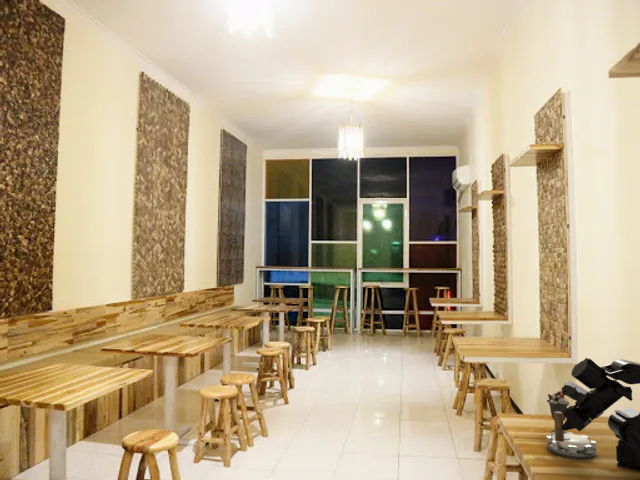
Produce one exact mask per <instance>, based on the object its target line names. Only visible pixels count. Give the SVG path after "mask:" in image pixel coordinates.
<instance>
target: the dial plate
mask: <svg viewBox="0 0 640 480" xmlns="http://www.w3.org/2000/svg"><path fill="white" fill-rule="evenodd" d="M565 432H566V433H567V434H574V432H571V431H565ZM553 435H555V432H552V433H551V432H550V435H546V448H547V450H548V451H549V452H550V451H551V452H550V453H552V454H554V455H556V456H560V457H562V458H566V459H567V458H568V459H571V460H572V459H573V460H590V459H593V458H595V457H597V443H596V440H590V439H591V437H590V436H588V435H585V434H583V435H582V434H581V435H580V436H582V437H585V438H587V439H588V440H589V441H590V445H585V446H584V451H577V448H576V446H573V445H568V450H567V449H563V448H560V443H559V442H557V441H552V436H553Z"/></svg>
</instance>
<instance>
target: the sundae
mask: <svg viewBox="0 0 640 480" xmlns="http://www.w3.org/2000/svg"><path fill="white" fill-rule="evenodd" d="M561 391H562V388H561V389H560V391H557V392H555V393H553V394H550V393H547V397H548V399H547V400H546V402H547V403H548V404H549V410H550V415H551V418H552V419H553V420H554V412H556V411H558V412H563V411H564V410H565V409H566V408H568V407H569V405H570V402H569V401H568V400H567V398H566V397H565V395H563V394H562V393H561ZM566 419H567V418H566V417H565V416H564V415H563V422H565V421H566ZM552 432H555V429H551V431H550V434H551V433H552ZM566 432H567V431H564V433H566Z"/></svg>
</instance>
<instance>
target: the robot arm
mask: <svg viewBox="0 0 640 480" xmlns="http://www.w3.org/2000/svg"><path fill="white" fill-rule="evenodd" d="M571 376H572V377H573V379H576V380H577V381H578V382H580V383H581V384H582V385H584V386H585V387H586V388H588V389H590V390H589V391H588V390H587V389H585V388H583V386H582V387H581V386H580V385H579V384H577V383H575V382H573V381H571V380H568V381H566V382H564V384H563V386H562V387H561V389H562V390H560V392H561V394H563V395H564V396H566V397H568V398H569V399H572V400H573V401H575V402H574V404H573V405H570V406H569V405H568V406H567V408H566V409H565V410H564V411H563V412H562V413H563V415H564V416H565V417H566V418H565V421H564V422H563V426H562V427H561V428H562V429H563V430H564V431H565V432H567V431H570V430H576V431H578V432H581V431H583V430H584V429H585V428H586V427H588V426H589V425H590V424H591V423H592V422H593V421H594V420H595V419H596V420H597V419H598V418H599V417H601V416H602V415H603V414H604V412H605V411H607V410H608V409H609V408H610V407H612V406H613V405H614V404H615V403H617V402H618V401H619V400H620V399H622V398H623V397H624V398H626V399H627V400H629V401H631V402H632V401H634V400H633V389H632V388H631V386H625V385H623V384H622V383H620V382H623V383H625V384H628V385H639V384H640V363H639V362H635V361H630V360H628V359H627V360H626V359H622V358H621V359H620V358H617V359H614V360H613V361H612V362H611V363H609V364H606V365H602V366H599V365H598V364H597V363H596V362H595V361H594V360H592V359H591V358H589V357H585V359H584V360H581V361H580V362H578V363H577V364H575V365H574V367H573V368H572V370H571ZM619 381H620V382H619ZM607 426H608V428H609V429H610V431H612V432H613V433H614V435H615V438H617V439H618V441H617V445H615V454H616V461H617V463H616V466H617V467H621V468H625V469H629V470H630V469H631V470H634V471H638V472H640V411H637V410H635V409H634V408H632V407H630V406H628V407H625V408H622V409H620V410H617V409H615V410H614V413H612V414H610V415H609V417H608V420H607Z"/></svg>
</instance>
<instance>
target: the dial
mask: <svg viewBox="0 0 640 480" xmlns="http://www.w3.org/2000/svg"><path fill="white" fill-rule="evenodd" d="M553 422H554V430H555V435H553V436H552V441H557V442H559V443H560V448H563V449H567V450H568V445H573V446H576V448H577V451H584V446H585V445H590V444H591V440H590V441H589V440H588V439H587V438H585V437H582V436H581V435H578V434H574V433H573V434H567V433H564V430H563V429H562V428H561V427H562V426H563V424H564V421H563V413H562V412H558V411H556V412H554V419H553Z"/></svg>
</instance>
